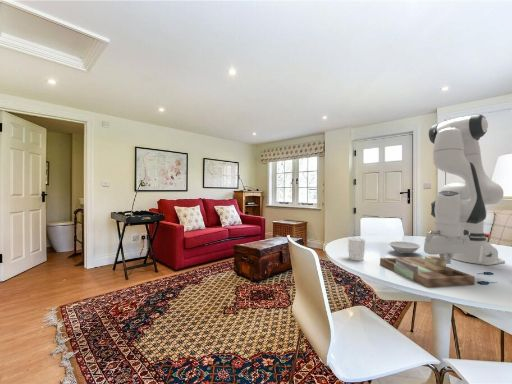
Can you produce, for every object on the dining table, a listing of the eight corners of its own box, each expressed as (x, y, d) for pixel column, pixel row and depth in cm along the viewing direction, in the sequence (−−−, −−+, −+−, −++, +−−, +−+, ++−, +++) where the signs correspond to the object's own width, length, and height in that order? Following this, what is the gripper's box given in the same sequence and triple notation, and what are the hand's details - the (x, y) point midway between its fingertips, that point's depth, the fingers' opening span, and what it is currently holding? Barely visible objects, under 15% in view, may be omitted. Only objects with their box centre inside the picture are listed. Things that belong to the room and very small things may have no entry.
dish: (396, 248, 146) (397, 240, 145) (425, 254, 134) (425, 244, 134) (383, 253, 135) (383, 244, 134) (412, 259, 123) (412, 249, 123)
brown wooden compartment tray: (418, 263, 118) (418, 251, 118) (474, 284, 92) (474, 269, 92) (380, 264, 114) (380, 252, 114) (427, 287, 89) (427, 272, 89)
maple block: (435, 265, 104) (435, 256, 104) (445, 269, 99) (446, 259, 99) (424, 266, 104) (424, 256, 103) (435, 270, 99) (435, 260, 99)
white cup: (367, 258, 124) (367, 239, 123) (361, 262, 118) (361, 241, 118) (351, 255, 129) (351, 236, 129) (345, 258, 123) (345, 238, 123)
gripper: (434, 232, 97) (433, 267, 97) (473, 231, 102) (472, 264, 102) (420, 229, 103) (419, 262, 103) (457, 228, 108) (456, 260, 108)
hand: (445, 263), depth 103 cm, fingers closed
